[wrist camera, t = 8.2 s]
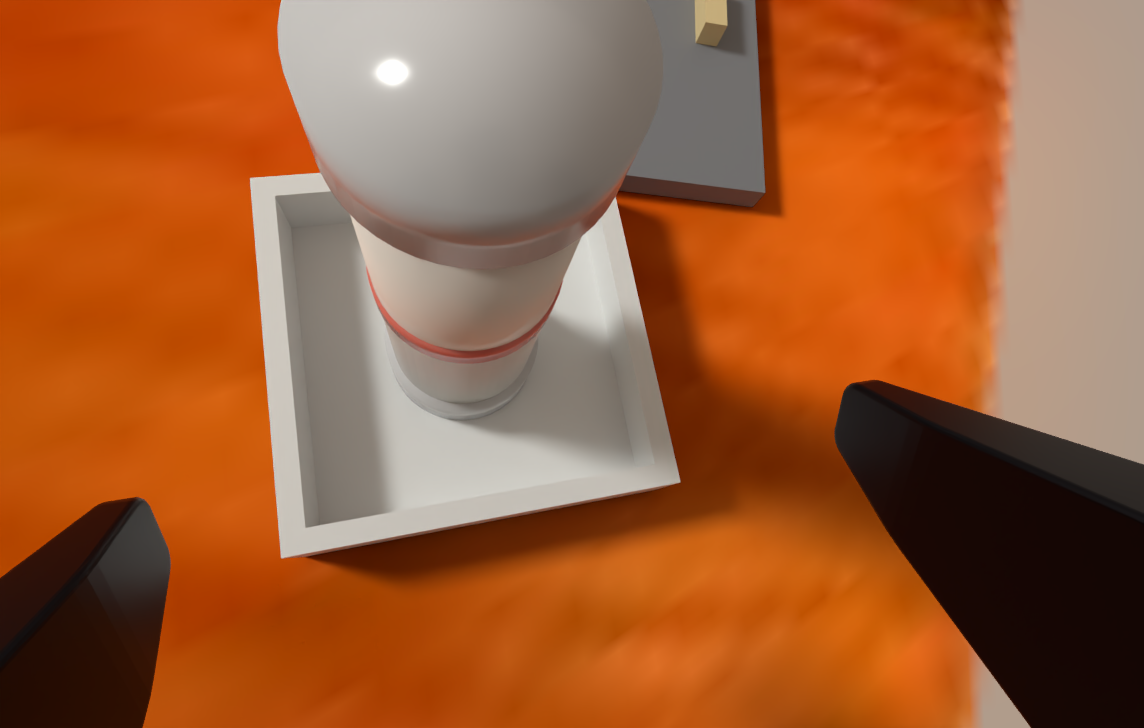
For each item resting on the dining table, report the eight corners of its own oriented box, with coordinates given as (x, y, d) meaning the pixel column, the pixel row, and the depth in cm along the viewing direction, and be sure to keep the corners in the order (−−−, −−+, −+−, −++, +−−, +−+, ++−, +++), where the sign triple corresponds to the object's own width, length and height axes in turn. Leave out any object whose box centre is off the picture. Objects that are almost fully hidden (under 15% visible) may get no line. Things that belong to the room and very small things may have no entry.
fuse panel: (752, 207, 24) (779, 177, 22) (471, 172, 22) (473, 136, 20) (738, -93, 27) (759, -141, 26) (498, -140, 26) (502, -195, 24)
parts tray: (654, 490, 20) (680, 482, 18) (304, 556, 18) (281, 558, 16) (589, 193, 23) (605, 151, 20) (273, 221, 20) (249, 178, 18)
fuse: (560, 360, 20) (734, 83, 8) (452, 449, 19) (453, 291, 6) (471, 259, 20) (502, -165, 8) (359, 340, 19) (191, -11, 7)
